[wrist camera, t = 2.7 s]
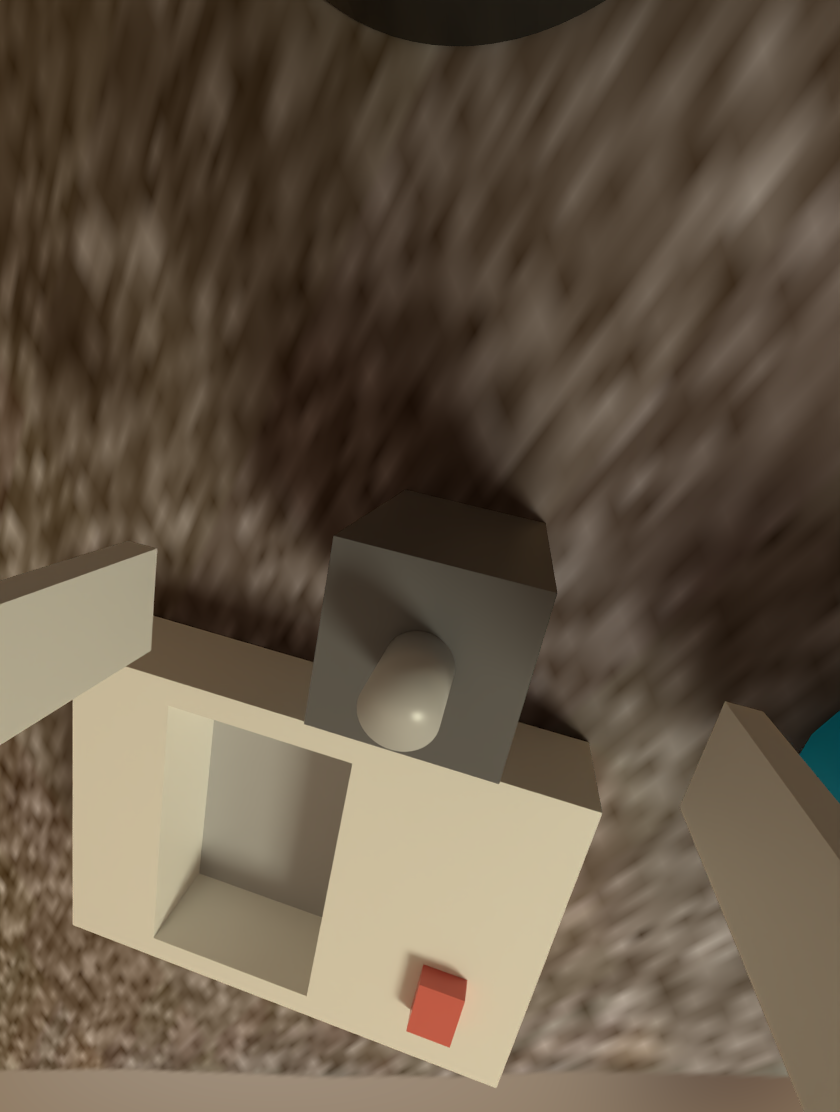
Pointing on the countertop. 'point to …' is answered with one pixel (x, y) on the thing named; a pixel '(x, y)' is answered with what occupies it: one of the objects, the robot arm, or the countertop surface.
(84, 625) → the robot arm
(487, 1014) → the socket plate
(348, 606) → the plug
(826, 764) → the mug
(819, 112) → the countertop surface
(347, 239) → the countertop surface
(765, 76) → the countertop surface
